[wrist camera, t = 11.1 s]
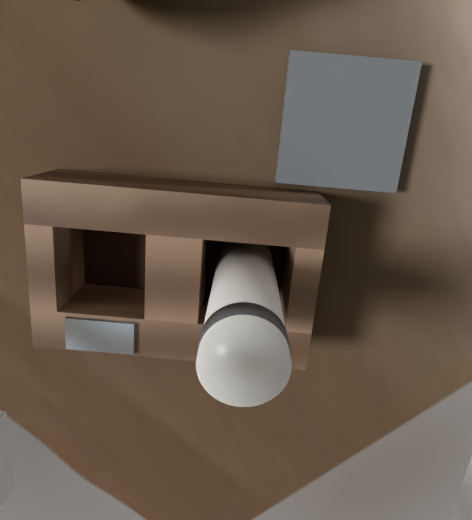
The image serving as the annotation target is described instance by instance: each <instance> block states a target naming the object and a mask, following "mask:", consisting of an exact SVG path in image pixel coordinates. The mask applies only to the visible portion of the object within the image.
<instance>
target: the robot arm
mask: <svg viewBox="0 0 472 520" xmlns="http://www.w3.org/2000/svg"><path fill="white" fill-rule="evenodd" d="M14 488H15V486H14V478H13V469H12V460H11V451H10V441H9V433H8V423H7V415H6V412H5V411H0V511H1V509H2V508H3V506H4V504H5V503H6V501H7V500H8V498H9V496H10V494H11V493H12V491H13V490H14ZM451 520H472V457H471V460H470V463H469V466H468V469H467V472H466V475H465V479H464V482H463V485H462V487H461V491H460V494H459V497H458V500H457V503H456V506H455V509H454V512H453V515H452V518H451Z"/></svg>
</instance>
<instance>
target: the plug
mask: <svg viewBox="0 0 472 520" xmlns="http://www.w3.org/2000/svg"><path fill="white" fill-rule="evenodd" d="M291 368H292V363H291V349H290V344H289V339H288V334H287V330H286V328H285V323H284V318H283V312H282V307H281V301H280V296H279V291H278V285H277V280H276V274H275V269H274V263H273V258H272V254H271V251H270V249H269V248H268V246H267V245H261V244H249V243H238V242H226V243H225V244H224V246H223V247H222V248H221V250H220V253H219V256H218V260H217V265H216V270H215V274H214V279H213V284H212V288H211V293H210V297H209V302H208V307H207V311H206V316H205V321H204V325H203V328H202V331H201V334H200V339H199V343H198V348H197V359H196V371H197V375H198V378H199V380H200V383H201V384H202V386H203V387H204V389H205V390H206V391H207V392H208V393H209V394H210V395H211V396H212V397H214V398H215V399H217V400H219V401H221V402H223V403H225V404H228V405H232V406H237V407H252V406H257V405H260V404H263V403H266V402H268V401H270V400H271V399H273V398H274V397H276V396H277V395H278V394H279V393H280V392H281V391H282V390H283V389H284V387H285V386H286V384H287V382H288V380H289V378H290V374H291Z"/></svg>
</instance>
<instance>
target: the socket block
mask: <svg viewBox="0 0 472 520" xmlns="http://www.w3.org/2000/svg"><path fill="white" fill-rule="evenodd" d="M21 191H22V204H23V218H24V231H25V245H26V259H27V272H28V286H29V300H30V313H31V327H32V341H33V347H37V348H49V349H61V350H72V351H84V352H95V353H107V354H119V355H130V356H142V357H154V358H165V359H177V360H189V361H196V359H197V348H198V343H199V339H200V334H201V331H202V328H203V325H204V321H205V316H206V311H207V307H208V302H209V297H210V294H205V286H206V270H207V255H208V240H214V241H226V242H238V243H249V244H261V245H273V246H284V247H286V252H285V260H284V268H283V276H282V284H281V292H280V301H281V307H282V312H283V318H284V323H285V328H286V330H287V334H288V339H289V344H290V349H291V363H292V368H291V369H294V370H305V371H306V367H307V361H308V354H309V348H310V341H311V335H312V328H313V322H314V315H315V308H316V302H317V295H318V289H319V282H320V276H321V269H322V263H323V256H324V249H325V243H326V236H327V230H328V223H329V217H330V210H331V205H330V204H329V203H328V202H327V201H326V200H325V199H324V198H323V197H322V196H321V195H320V194H319V193H318V192H314V191H303V190H291V189H280V188H268V187H256V186H245V185H233V184H222V183H210V182H198V181H187V180H175V179H164V178H152V177H140V176H129V175H117V174H106V173H94V172H82V171H71V170H59V169H57V170H53V171H49V172H45V173H41V174H37V175H33V176H29V177H25V178H21ZM84 229H87V230H98V231H110V232H122V233H133V234H145V235H146V256H145V289H142V288H130V287H118V286H107V285H95V284H85V262H84Z"/></svg>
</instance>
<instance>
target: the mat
mask: <svg viewBox="0 0 472 520" xmlns="http://www.w3.org/2000/svg"><path fill="white" fill-rule="evenodd" d="M421 66H422V61H411V60H399V59H388V58H376V57H365V56H353V55H342V54H330V53H318V52H307V51H295V50H290V52H289V59H288V68H287V77H286V86H285V95H284V104H283V114H282V123H281V132H280V141H279V150H278V159H277V168H276V177H275V182H276V183H285V184H296V185H308V186H320V187H331V188H343V189H354V190H366V191H378V192H389V193H396V192H397V187H398V182H399V177H400V172H401V167H402V162H403V157H404V152H405V147H406V142H407V137H408V131H409V126H410V121H411V116H412V111H413V106H414V101H415V96H416V91H417V86H418V81H419V76H420V71H421Z"/></svg>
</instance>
